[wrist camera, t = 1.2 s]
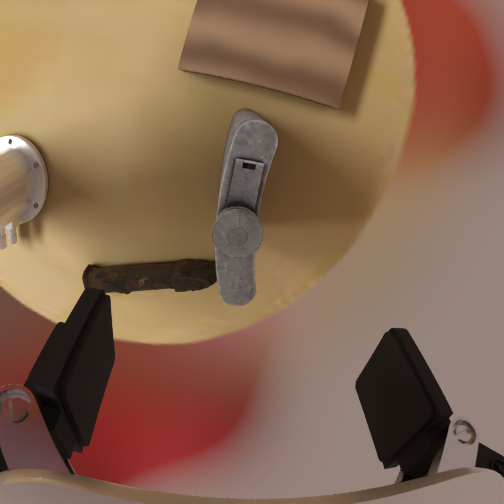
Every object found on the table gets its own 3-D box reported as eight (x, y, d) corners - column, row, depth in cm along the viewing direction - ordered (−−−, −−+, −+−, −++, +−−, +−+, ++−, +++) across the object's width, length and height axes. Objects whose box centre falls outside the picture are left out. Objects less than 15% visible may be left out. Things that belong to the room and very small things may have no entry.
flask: (215, 225, 39) (206, 322, 23) (226, 106, 33) (222, 119, 17) (245, 227, 40) (255, 325, 24) (259, 110, 33) (287, 126, 17)
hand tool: (95, 284, 42) (85, 304, 38) (88, 260, 41) (76, 279, 36) (224, 280, 43) (224, 301, 39) (222, 254, 41) (221, 273, 37)
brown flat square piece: (330, 107, 33) (338, 108, 30) (182, 70, 30) (177, 68, 27) (362, -8, 26) (372, -14, 23) (219, -49, 23) (218, -59, 20)
